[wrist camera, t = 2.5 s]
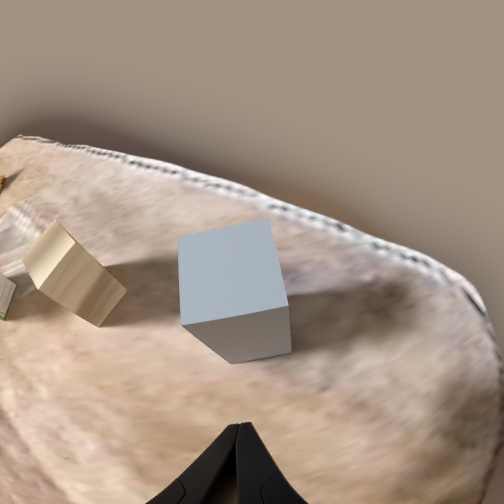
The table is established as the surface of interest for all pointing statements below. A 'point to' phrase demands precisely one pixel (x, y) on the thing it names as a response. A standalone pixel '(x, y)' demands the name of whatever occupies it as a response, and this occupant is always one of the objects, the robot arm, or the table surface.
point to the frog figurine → (1, 182)
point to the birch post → (72, 275)
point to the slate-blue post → (234, 292)
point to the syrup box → (5, 294)
